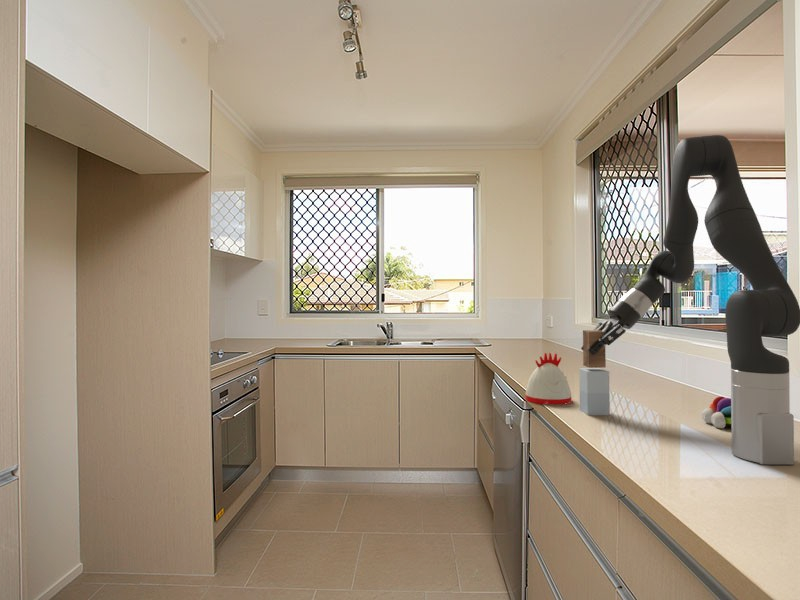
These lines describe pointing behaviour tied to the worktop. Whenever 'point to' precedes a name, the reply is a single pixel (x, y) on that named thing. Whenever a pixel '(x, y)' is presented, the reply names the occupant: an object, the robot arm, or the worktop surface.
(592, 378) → the tower top
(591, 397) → the tower base
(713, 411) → the multicoloured plush toy
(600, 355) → the walnut post
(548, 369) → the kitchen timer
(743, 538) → the worktop surface
